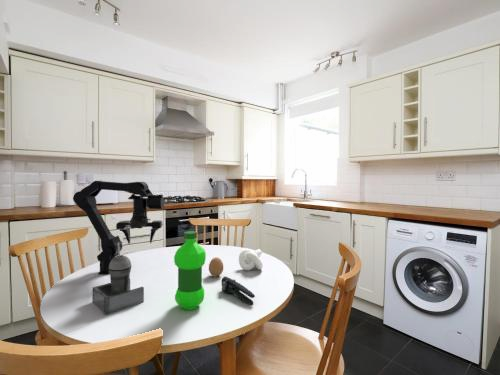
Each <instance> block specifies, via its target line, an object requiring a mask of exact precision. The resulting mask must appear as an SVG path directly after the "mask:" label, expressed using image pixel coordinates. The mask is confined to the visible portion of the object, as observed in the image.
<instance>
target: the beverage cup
mask: <svg viewBox="0 0 500 375" xmlns="http://www.w3.org/2000/svg"><path fill="white" fill-rule="evenodd" d="M108 270H109V278H110V283H111V289H112V295H116V294H119V293H122V292H126V291H128V289H129V278H130V279H131V276H130V275H131V270H132V262H131V259H130V258H129V257H128V256H127V255H122V254H121V251H120V247H119V243H118V256H116V257H114V258H113V259H112V260H111V262H110V264H109V268H108Z"/></svg>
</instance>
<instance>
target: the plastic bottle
mask: <svg viewBox="0 0 500 375" xmlns="http://www.w3.org/2000/svg"><path fill="white" fill-rule="evenodd" d="M197 238H198V231H195V230H188V231H184V232H183V239H185V242H184V243H182V245H181V246H180V247H179V248H177V249H176V251H175V254H174V256H173V262H174V265H175V266H176V267H177V289H176V293H175V295H174V300H175V303H176V304H177V305H178V306H179V307H181V308H182V309H183V310H187V311H191V310H195V309H197V308H198V307H199V305H201V304H202V303H203V301H204V299H205V288H204V286H203V284H202V283H203V282H202V281H203V278H202V277H203V276H202V275H203V272H202V271H203V267H204V265H205V263H206V254H207V253H206V251H205V250H206V249H205V248H203V247H202V246H201V245H200V244H199V243H197V241H196V239H197Z"/></svg>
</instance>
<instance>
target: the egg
mask: <svg viewBox="0 0 500 375" xmlns="http://www.w3.org/2000/svg"><path fill="white" fill-rule="evenodd" d="M223 271H224V263H223V260H222V259H221V258H219V257H213V258H212V259H211V260H210V261H209V264H208V272H209V274H210V275H211V276H213V277H219V276H221V275H222V273H223Z"/></svg>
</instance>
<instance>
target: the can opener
mask: <svg viewBox="0 0 500 375" xmlns="http://www.w3.org/2000/svg"><path fill="white" fill-rule="evenodd" d="M221 291H222V292H223V293H227V294H230V293H231V294H234V295H235V296H236V297H238V299H240V300H241V301H243V302H244V303H245V304H247V305H250V306H251V305H253V304H254V301H253V300H252V299H253V298H255V297H256V295H255V294H254V293H253V292H252V291H251V290H249V289H248V287H245V286H244V285H242V284H241V283H239V282H238V281H236V279H232V278H230V277H228V276H223V277H222V278H221Z"/></svg>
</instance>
